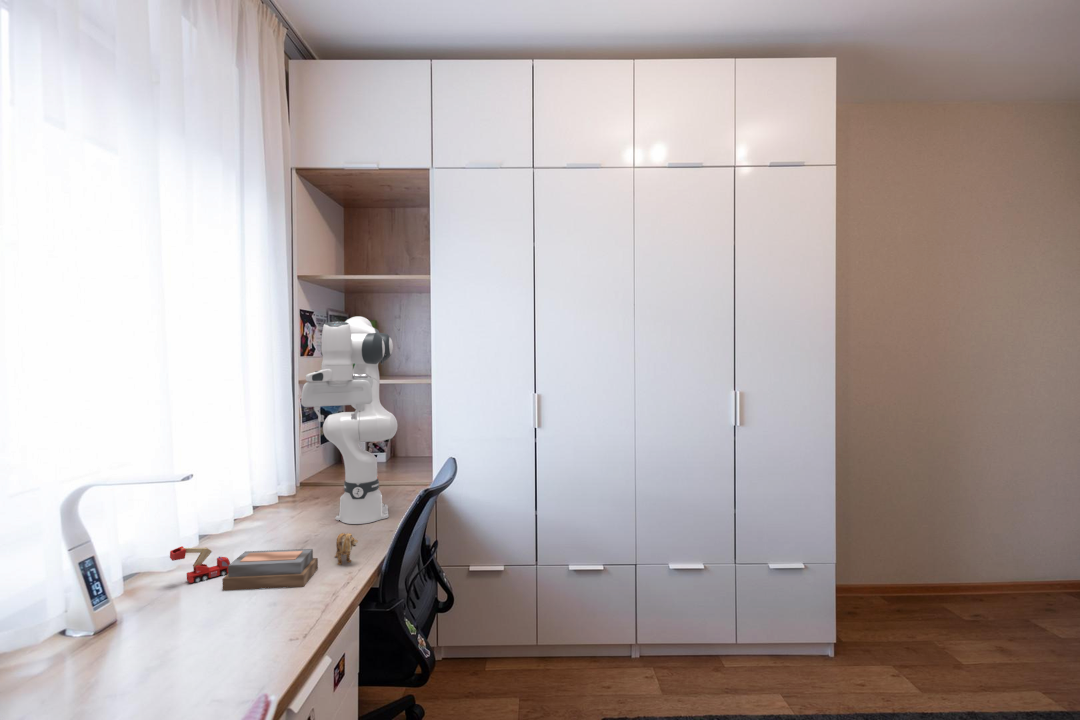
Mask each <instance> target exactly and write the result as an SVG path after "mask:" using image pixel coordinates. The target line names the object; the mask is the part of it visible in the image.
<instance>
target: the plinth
mask: <svg viewBox="0 0 1080 720" xmlns="http://www.w3.org/2000/svg"><path fill="white" fill-rule="evenodd" d="M313 551H314V549H313V548H299V549H297V548H296V549H276V550H275V549H273V550H270V549H269V550H250V551H249V550H248V551H247V550H246V551H244V552H243V553H241V554H240V555H239V556H237V557H236V558H235V559H234V560H232V561H231V562H230V564H229V565H228V573H227V574H226V575H224V577H223V578H222V581H221V582H222V591H240V590H244V591H245V590H260V589H259V588H265V589H281V588H283V587H286V588H302V587H304V588H305V586H306V585H307V583H308V582H309V580H310V579H311V578H312V576H313V575H314V574H315V573H316V571H317V570H318V569H319V565H318V563H319V562H318V559H319V558H318V557H314V552H313ZM283 589H284V588H283Z"/></svg>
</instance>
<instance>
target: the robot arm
mask: <svg viewBox="0 0 1080 720" xmlns="http://www.w3.org/2000/svg"><path fill="white" fill-rule="evenodd" d="M393 350H394V343H393V340H392V338H391V336H390V334H388V333H385V332H380V331H379V329H377V328H376V327H373V324H372V322H371V321H370V320H369V319H367V318H366V317H364V316H352V317H350V318H348V319H346V320H345V321H328V322H325V323H324V324H323V327H322V332H321V341H320V356H321V357H322V361H321V369H320V370H315V371H314V372H310V373H307V374H305V381H306V382H305V383H304V385H303V387H302V390H301V398H300V399H301V400H300V401H301V402H300V403H301V406H302V407H304V408H312V407H313V411H314V413H316V415H317V418H318V423H322V422H323V425H322V432H323V435H324V437H325V438H326V440H327V441H329V442H330V443H332V444H333V445H334V446H335V447H336V448H337V449H338V450H339V452H340V454H341V455H342V459H343V464H344V474H345V477H344V478H345V480H344V482H343V483H344V484H343V490H344V493H343V494H342V495H341V496H339V497H340V498H339V514H337V515H336V516H335V518H334V520H335V519H336V520H335V521H339V520H340V522H342V523H343V524H348V525H349V524H350V525H361V524H363V525H364V524H369V523H374V522H377V521H379V520H384V519H389V518H390V517H389V506H388V504H385V503H383V495H382V492H381V490H380V481H379V476H378V459H377V457H376V456H375V454H373V453H371V452H370V451H367V450H365V449H364V448H363V447H361V445H360V443H365V442H366V443H371V442H372V443H373V442H383V441H386V440H387V441H388V440H391V439H393V437H395V435H396V433H397V431H398V421H397V418H396V417H395V415H394V414H393V413H392V412H390V411H388V410H387V409H386V408H384V406H383V405H382V404H381V401H380V383H381V382H380V379H381V378H380V371H379V364H380V365H381V366H382V365H384V364H385V362H386V361H388V360H389V359H390V357H391V355H392V353H393ZM353 365H354V366H353ZM333 406H335V407H337V406H351V407H352V408H354V410H355V411H343V412H337V413H332V414H329V415H327V417H326V418H325V415H323V414H321V413H320V412H319V411H320V409H321V407H333ZM324 418H325V419H324Z"/></svg>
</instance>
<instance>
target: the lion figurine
mask: <svg viewBox="0 0 1080 720" xmlns="http://www.w3.org/2000/svg"><path fill="white" fill-rule="evenodd" d="M358 543H359V540H357V539H356V538H355V537H354V536H353V534H352V533H348V532H347V533H344V532H342V533H340V534H337V538H336V545H335V546H336V553H335V555H334V558H337V563H336V564H337V565H338V566H340V565H341V566H342V565H343V561H342V556H344V555H346V557H345V561H346V563H351V562H352V560H351V559H350V558H351V557H350V555H351V551H352V550H353V548H356V546H357V544H358Z"/></svg>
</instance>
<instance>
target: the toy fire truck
mask: <svg viewBox="0 0 1080 720" xmlns="http://www.w3.org/2000/svg"><path fill="white" fill-rule="evenodd" d="M212 552H213V551H212V550H211V549H209V548H208V547H185V546H179V547H176V548H174V549H171V550H170V551H169V558H170V560H171V561H174V562H175V561H179V560H185V558H186V554H187V553H188V554H190V553H192V554H194V553H195V554H197V553H198V554H199V555H198V556H197V558H196V560H195V562H194V563H193V564H192V566H193V570H192V571H189V572H186V581H187V582H188V583H189V584H191V583H197V584H198V583H200V582H201V580H202V581H203V582H204V581H205V580H206V581H207V580H208V579H211V578H215V577H218V576H220V575H221V576H222V577H223V575H224V576H226V575H227V574H228V565H229V564H231V562H230V559H229V558H228V557H226V556H218V557H217V558H216V565H213V566H208V565H207V563H206V564H205V563H204V562H205V561H206V559H207V558H208V557H209V556H210V554H211V553H212Z"/></svg>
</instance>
